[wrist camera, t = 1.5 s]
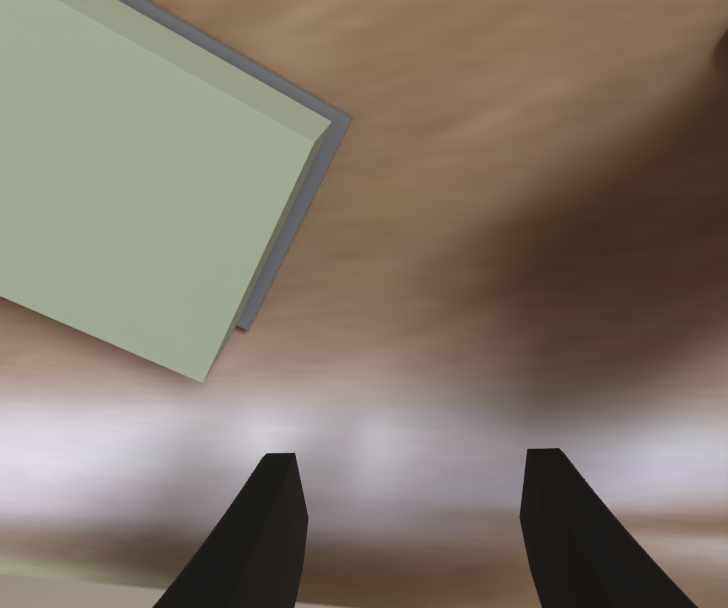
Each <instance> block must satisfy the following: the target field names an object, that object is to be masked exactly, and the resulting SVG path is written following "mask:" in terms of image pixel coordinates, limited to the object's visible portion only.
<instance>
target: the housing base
mask: <svg viewBox="0 0 728 608" xmlns="http://www.w3.org/2000/svg"><path fill="white" fill-rule="evenodd" d="M118 1H120V2H122V3H124V4H125V5H127V6H129V7H131V8H133V9H134V10H136V11H138V12H140V13H141V14H143V15H145V16H147V17H148V18H150V19H152V20H154V21H155V22H157V23H159V24H161V25H162V26H164V27H166V28H168V29H170V30H171V31H173V32H175V33H177V34H178V35H180V36H182V37H184V38H185V39H187V40H189V41H191V42H192V43H194V44H196V45H198V46H199V47H201V48H203V49H205V50H207V51H208V52H210V53H212V54H214V55H215V56H217V57H219V58H221V59H222V60H224V61H226V62H228V63H229V64H231V65H233V66H235V67H236V68H238V69H240V70H242V71H243V72H245V73H247V74H249V75H251V76H252V77H254V78H256V79H258V80H259V81H261V82H263V83H265V84H266V85H268V86H270V87H272V88H273V89H275V90H277V91H279V92H280V93H282V94H284V95H286V96H288V97H289V98H291V99H293V100H295V101H296V102H298V103H300V104H302V105H303V106H305V107H307V108H309V109H310V110H312V111H314V112H316V113H317V114H319V115H321V116H323V117H324V118H326V119H328V120H330V121H332V122H331V125H330V127H329V129H328V131H327V133H326V135H325V137H324V139H323V142H322V144H321V146H320V148H319V150H318V152H317V154H316V156H315V159H314V161H313V163H312V165H311V167H310V169H309V171H308V173H307V176H306V178H305V180H304V182H303V184H302V186H301V188H300V191H299V193H298V195H297V197H296V199H295V201H294V203H293V205H292V208H291V210H290V212H289V214H288V216H287V218H286V220H285V222H284V225H283V227H282V229H281V231H280V233H279V235H278V237H277V239H276V242H275V244H274V246H273V248H272V250H271V252H270V254H269V256H268V259H267V261H266V263H265V265H264V267H263V269H262V271H261V273H260V276H259V278H258V280H257V282H256V284H255V286H254V288H253V291H252V293H251V295H250V297H249V299H248V301H247V303H246V305H245V308H244V310H243V312H242V314H241V316H240V318H239V320H238V322H237V324H236V326H238V327H241V328H243V329H245V330H247V331H248V330H249V328H250V326H251V324H252V322H253V320H254V318H255V316H256V314H257V312H258V310H259V308H260V306H261V304H262V302H263V300H264V298H265V296H266V294H267V292H268V290H269V288H270V285H271V283H272V281H273V279H274V277H275V275H276V273H277V271H278V269H279V267H280V265H281V263H282V261H283V259H284V257H285V255H286V253H287V251H288V249H289V247H290V245H291V243H292V240H293V238H294V236H295V234H296V232H297V230H298V228H299V226H300V224H301V222H302V220H303V218H304V216H305V214H306V212H307V210H308V208H309V206H310V204H311V202H312V200H313V198H314V195H315V193H316V191H317V189H318V187H319V185H320V183H321V181H322V179H323V177H324V175H325V173H326V171H327V169H328V167H329V165H330V163H331V161H332V159H333V157H334V155H335V153H336V150H337V148H338V146H339V144H340V142H341V140H342V138H343V136H344V134H345V132H346V130H347V128H348V126H349V124H350V122H351V120H352V118H353V117H352V116H350V115H348V114H347V113H345V112H343V111H341V110H340V109H338V108H336V107H334V106H333V105H331V104H329V103H327V102H326V101H324V100H322V99H320V98H319V97H317V96H315V95H314V94H312V93H310V92H308V91H307V90H305V89H303V88H301V87H300V86H298V85H296V84H294V83H293V82H291V81H289V80H287V79H286V78H284V77H282V76H280V75H279V74H277V73H275V72H274V71H272V70H270V69H268V68H267V67H265V66H263V65H261V64H260V63H258V62H256V61H254V60H253V59H251V58H249V57H247V56H246V55H244V54H242V53H240V52H239V51H237V50H235V49H234V48H232V47H230V46H228V45H227V44H225V43H223V42H221V41H220V40H218V39H216V38H214V37H213V36H211V35H209V34H207V33H206V32H204V31H202V30H200V29H199V28H197V27H195V26H194V25H192V24H190V23H188V22H187V21H185V20H183V19H181V18H180V17H178V16H176V15H174V14H173V13H171V12H169V11H167V10H166V9H164V8H162V7H160V6H159V5H157V4H155V3H154V2H152V1H150V0H118Z"/></svg>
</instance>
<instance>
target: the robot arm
mask: <svg viewBox="0 0 728 608" xmlns="http://www.w3.org/2000/svg"><path fill="white" fill-rule="evenodd" d="M520 522H521V527H522V532H523V537H524V542H525V547H526V551H527V556H528V561H529V566H530V570H531V574H532V577H533V580H534V583H535V587H536V590H537V593H538V596H539V600H540V603H541V606H542V608H698V607H697V606H696V605H695V604H694V603H693V602H692V601H691V600H690V599H689V598H688V597H687V596H686V595H685V594H684V593H683V591H682V590H681V589H680V588H679V587H678V586H677V585H676V584H675V583H674V582H673V581H672V580H671V579H670V578H669V577H668V576H667V575H666V574H665V572H664V571H663V570H662V569H661V568H660V567H659V566H658V565H657V564H656V563H655V562H654V561H653V559H652V558H651V557H650V556H649V555H648V554H647V553H646V552H645V550H644V549H643V548H642V547H641V546H640V545H639V544H638V542H637V541H636V540H635V539H634V538H633V537H632V536H631V535H630V533H629V532H628V531H627V530H626V529H625V528H624V527H623V525H622V524H621V523H620V522H619V521H618V520H617V518H616V517H615V516H614V515H613V514H612V513H611V511H610V510H609V509H608V508H607V507H606V505H605V504H604V503H603V502H602V500H601V499H600V498H599V497H598V496H597V494H596V493H595V492H594V491H593V489H592V488H591V487H590V486H589V484H588V483H587V482H586V481H585V479H584V478H583V477H582V476H581V474H580V473H579V472H578V471H577V469H576V468H575V467H574V465H573V464H572V463H571V462H570V460H569V459H568V458H567V456H566V455H565V454H564V452H562V451H561V450H560V449H559V448H548V449H527V457H526V466H525V474H524V483H523V492H522V501H521V509H520ZM307 526H308V514H307V509H306V504H305V499H304V494H303V490H302V485H301V480H300V475H299V470H298V465H297V460H296V455H295V453H267V454H266V455H265V456H263V457H262V459H261V460H260V462H259V464H258V465H257V467H256V468H255V470H254V471H253V473H252V474H251V476H250V477H249V479H248V480H247V482H246V484H245V485H244V487H243V488H242V490H241V491H240V492H239V494H238V495H237V497H236V498H235V500H234V501H233V503H232V504H231V506H230V507H229V509H228V510H227V511H226V513H225V514H224V516H223V517H222V518H221V520H220V521H219V523H218V524H217V525H216V527H215V528H214V529H213V531H212V532H211V534H210V535H209V536H208V538H207V539H206V540H205V542H204V543H203V545H202V546H201V547H200V549H199V550H198V551H197V553H196V554H195V555H194V556H193V558H192V559H191V560H190V562H189V563H188V564H187V565H186V567H185V568H184V569H183V570H182V572H181V573H180V574H179V575H178V577H177V578H176V579H175V580H174V582H173V583H172V584H171V585H170V587H169V588H168V589H167V590H166V592H165V593H164V594H163V595H162V597H161V598H160V599H159V600H158V602H157V603H156V604H155V605H154V606H153V608H294V606H295V602H296V597H297V593H298V588H299V583H300V579H301V574H302V569H303V561H304V553H305V545H306V536H307Z"/></svg>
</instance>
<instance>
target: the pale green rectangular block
mask: <svg viewBox="0 0 728 608" xmlns="http://www.w3.org/2000/svg"><path fill="white" fill-rule="evenodd" d="M331 122H332V121H330V120H328V119H326V118H324V117H323V116H321V115H319V114H317V113H316V112H314V111H312V110H310V109H309V108H307V107H305V106H303V105H302V104H300V103H298V102H296V101H295V100H293V99H291V98H289V97H288V96H286V95H284V94H282V93H280V92H279V91H277V90H275V89H273V88H272V87H270V86H268V85H266V84H265V83H263V82H261V81H259V80H258V79H256V78H254V77H252V76H251V75H249V74H247V73H245V72H243V71H242V70H240V69H238V68H236V67H235V66H233V65H231V64H229V63H228V62H226V61H224V60H222V59H221V58H219V57H217V56H215V55H214V54H212V53H210V52H208V51H207V50H205V49H203V48H201V47H199V46H198V45H196V44H194V43H192V42H191V41H189V40H187V39H185V38H184V37H182V36H180V35H178V34H177V33H175V32H173V31H171V30H170V29H168V28H166V27H164V26H162V25H161V24H159V23H157V22H155V21H154V20H152V19H150V18H148V17H147V16H145V15H143V14H141V13H140V12H138V11H136V10H134V9H133V8H131V7H129V6H127V5H125V4H124V3H122V2H120V1H118V0H0V296H1V297H4V298H6V299H8V300H11V301H13V302H15V303H17V304H20V305H22V306H24V307H27V308H29V309H31V310H34V311H36V312H38V313H41V314H43V315H45V316H48V317H50V318H52V319H55V320H57V321H59V322H62V323H64V324H66V325H69V326H71V327H73V328H76V329H78V330H80V331H83V332H85V333H87V334H90V335H92V336H94V337H97V338H99V339H101V340H103V341H106V342H108V343H110V344H113V345H115V346H117V347H120V348H122V349H124V350H127V351H129V352H131V353H134V354H136V355H138V356H141V357H143V358H145V359H148V360H150V361H152V362H155V363H157V364H159V365H162V366H164V367H166V368H169V369H171V370H173V371H176V372H178V373H180V374H183V375H185V376H187V377H190V378H192V379H194V380H196V381H199V382H201V383H203V382H204V381H205V379H206V377H207V375H208V374H209V372H210V370H211V368H212V367H213V365H214V363H215V361H216V360H217V358H218V356H219V354H220V353H221V351H222V349H223V347H224V346H225V344H226V342H227V340H228V339H229V337H230V335H231V333H232V331H233V330H234V328H235V326H236V324H237V322H238V320H239V318H240V316H241V314H242V312H243V310H244V308H245V305H246V303H247V301H248V299H249V297H250V295H251V293H252V291H253V288H254V286H255V284H256V282H257V280H258V278H259V276H260V273H261V271H262V269H263V267H264V265H265V263H266V261H267V259H268V256H269V254H270V252H271V250H272V248H273V246H274V244H275V242H276V239H277V237H278V235H279V233H280V231H281V229H282V227H283V225H284V222H285V220H286V218H287V216H288V214H289V212H290V210H291V208H292V205H293V203H294V201H295V199H296V197H297V195H298V193H299V191H300V188H301V186H302V184H303V182H304V180H305V178H306V176H307V173H308V171H309V169H310V167H311V165H312V163H313V161H314V159H315V156H316V154H317V152H318V150H319V148H320V146H321V144H322V142H323V139H324V137H325V135H326V133H327V131H328V129H329V127H330V125H331Z"/></svg>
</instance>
